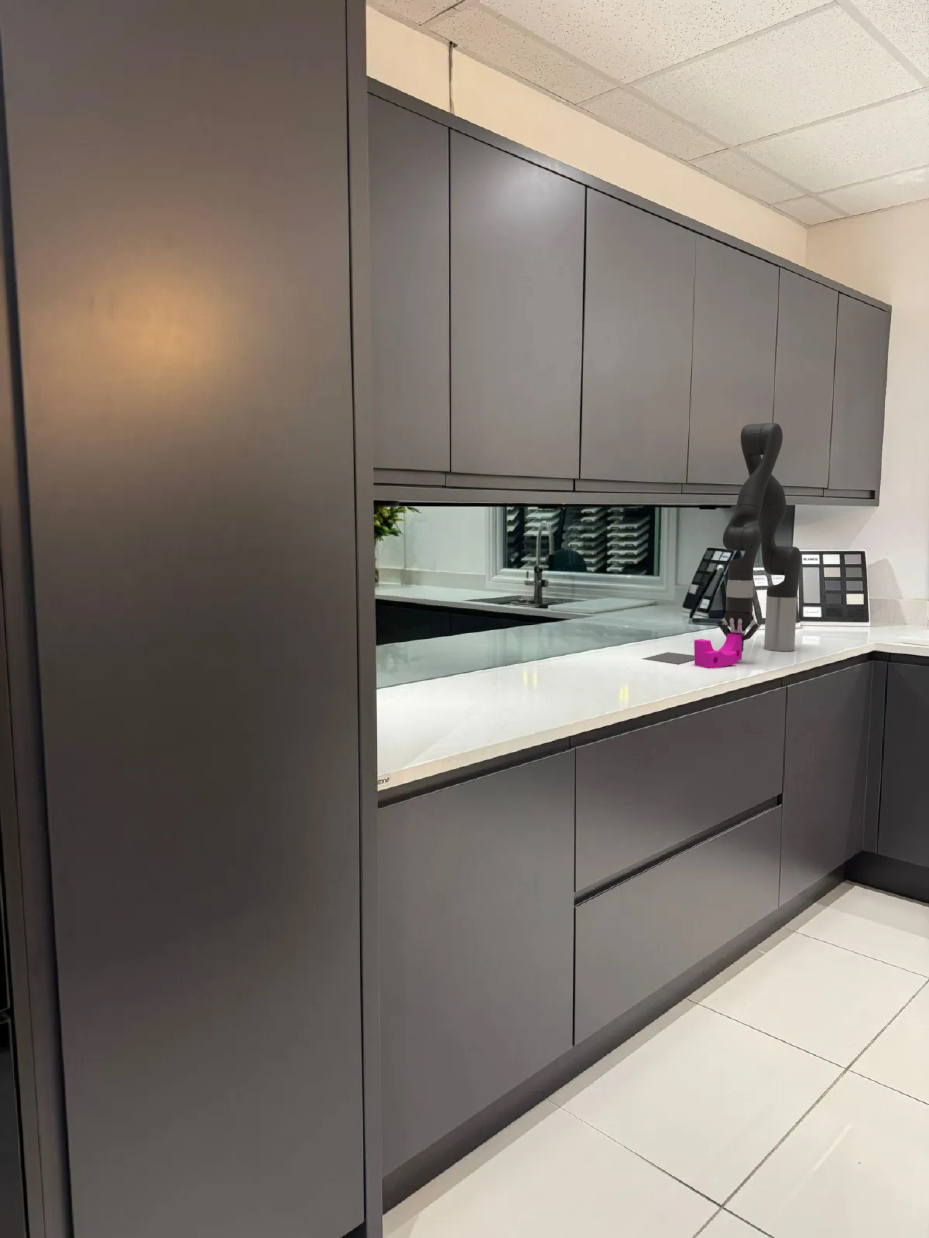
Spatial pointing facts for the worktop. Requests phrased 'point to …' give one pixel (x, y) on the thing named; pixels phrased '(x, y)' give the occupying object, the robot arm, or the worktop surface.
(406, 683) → the worktop surface
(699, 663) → the magenta pipe clamp
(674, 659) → the rubber mat
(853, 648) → the worktop surface
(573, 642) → the worktop surface
